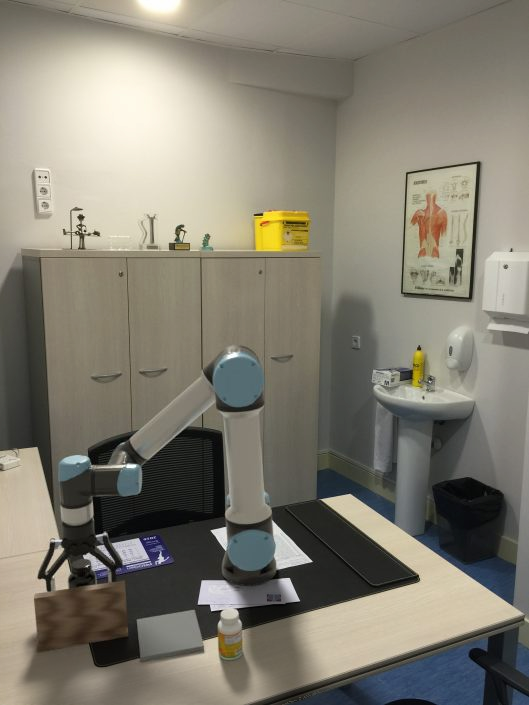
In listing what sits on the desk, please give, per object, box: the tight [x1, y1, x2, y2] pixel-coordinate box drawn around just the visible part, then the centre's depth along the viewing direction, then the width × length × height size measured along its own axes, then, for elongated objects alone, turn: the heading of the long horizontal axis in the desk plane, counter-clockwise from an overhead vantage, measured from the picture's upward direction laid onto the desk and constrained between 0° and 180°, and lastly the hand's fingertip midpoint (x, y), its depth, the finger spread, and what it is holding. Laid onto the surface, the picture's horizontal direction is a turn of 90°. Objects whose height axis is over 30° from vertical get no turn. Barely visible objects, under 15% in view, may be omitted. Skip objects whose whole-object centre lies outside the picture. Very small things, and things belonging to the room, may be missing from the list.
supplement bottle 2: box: [217, 607, 244, 661], centre depth 134 cm, size 5×5×10 cm
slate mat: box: [136, 609, 205, 662], centre depth 141 cm, size 14×14×1 cm
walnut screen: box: [33, 579, 129, 653], centre depth 140 cm, size 20×6×12 cm, turn 105°
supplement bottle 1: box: [67, 558, 98, 589], centre depth 151 cm, size 7×7×12 cm
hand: (82, 597), depth 152 cm, fingers open, 13 cm apart
